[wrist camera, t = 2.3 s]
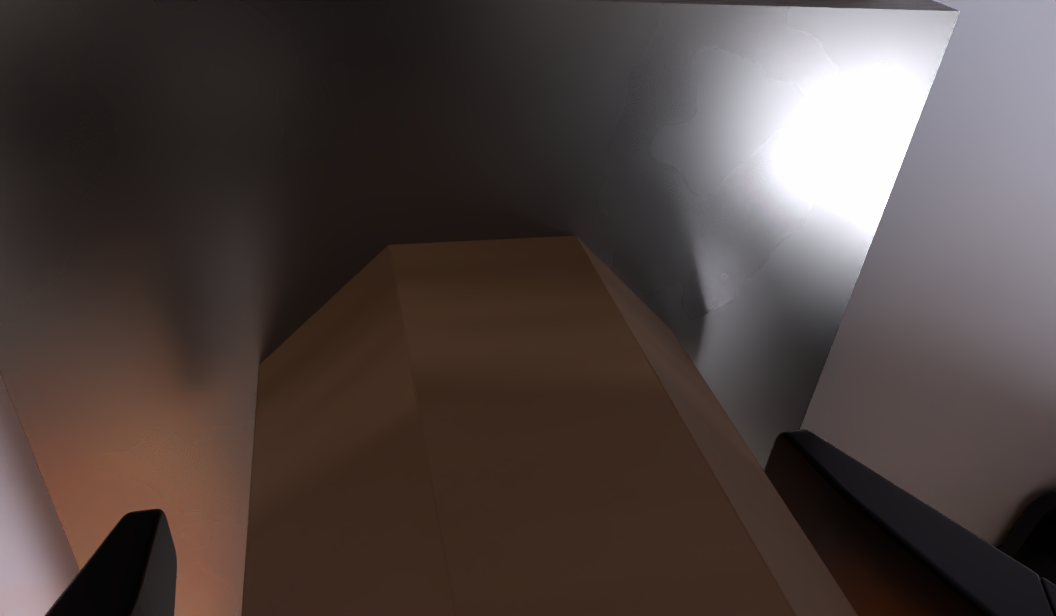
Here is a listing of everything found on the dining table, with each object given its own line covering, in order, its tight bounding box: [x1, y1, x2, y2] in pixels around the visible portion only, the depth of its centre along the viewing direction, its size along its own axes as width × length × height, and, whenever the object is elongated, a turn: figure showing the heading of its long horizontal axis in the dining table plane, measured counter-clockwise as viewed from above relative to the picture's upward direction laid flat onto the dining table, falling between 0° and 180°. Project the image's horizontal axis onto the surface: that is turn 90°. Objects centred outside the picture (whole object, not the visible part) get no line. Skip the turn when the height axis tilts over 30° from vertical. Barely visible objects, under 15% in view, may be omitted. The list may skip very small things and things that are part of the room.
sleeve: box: [241, 235, 858, 616], centre depth 9 cm, size 6×6×7 cm
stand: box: [0, 0, 960, 616], centre depth 10 cm, size 12×12×7 cm
